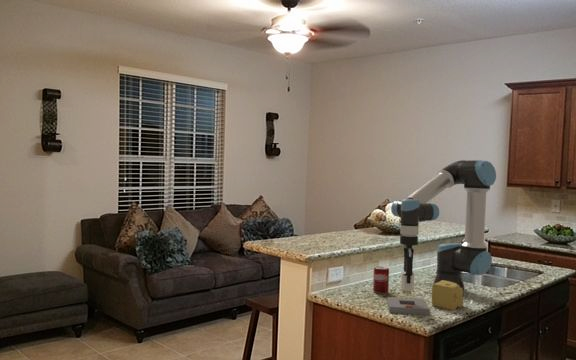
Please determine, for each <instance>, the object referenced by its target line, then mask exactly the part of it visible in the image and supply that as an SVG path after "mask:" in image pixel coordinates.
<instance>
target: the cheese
mask: <svg viewBox="0 0 576 360" xmlns="http://www.w3.org/2000/svg"><path fill="white" fill-rule="evenodd" d="M463 294H464V292H463V290H462V288H460V285H458V284H457V283H453V282H449V281H445V280H441V281H440V282H438V283H435V284H433V283H432V287H431V303H432V304H431V305H432V306H433V307H437V308H440V309H441V308H442V309H447V310H452V311H453V310H456V309H457V308H461V307H463V305H464V298H463Z"/></svg>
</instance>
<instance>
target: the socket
mask: <svg viewBox="0 0 576 360" xmlns="http://www.w3.org/2000/svg"><path fill="white" fill-rule="evenodd" d="M386 298H387V299H386V302H387V308H388V312H389V313H390V314H391V313H392V314H404V313H405V314H406V315H407V314H408V315H421V314H423V315H425V316H429V315H430V309H429V306H428V304H427V302H426V300H425V298H414V297H398V296H397V297H396V296H387V297H386ZM405 314H404V315H405Z"/></svg>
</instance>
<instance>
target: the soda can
mask: <svg viewBox="0 0 576 360" xmlns="http://www.w3.org/2000/svg"><path fill="white" fill-rule="evenodd" d="M389 284H390V268H389V267H387V266H381V265H380V266H379V265H378V266H374V267H373V285H372V286H373V287H372V290H373V292H374V293H375V294H380V295H386V294H388V293H389V290H390V288H389V287H390V285H389Z"/></svg>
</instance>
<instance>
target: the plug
mask: <svg viewBox="0 0 576 360" xmlns="http://www.w3.org/2000/svg"><path fill="white" fill-rule="evenodd" d="M400 273H401V275H400V289H401V291H402V294H405V295H406V296H409V295H412V291H413V292H414V291H415V273H414V271H412V273H413V274H412V285H411V291H405V276H404V274H406V272H404V270H403V271H401V272H400Z"/></svg>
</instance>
